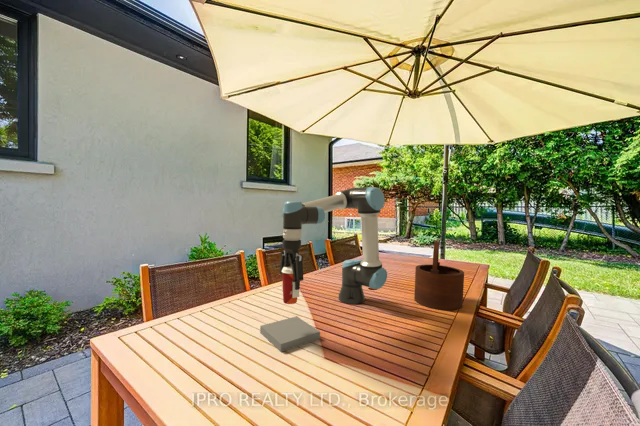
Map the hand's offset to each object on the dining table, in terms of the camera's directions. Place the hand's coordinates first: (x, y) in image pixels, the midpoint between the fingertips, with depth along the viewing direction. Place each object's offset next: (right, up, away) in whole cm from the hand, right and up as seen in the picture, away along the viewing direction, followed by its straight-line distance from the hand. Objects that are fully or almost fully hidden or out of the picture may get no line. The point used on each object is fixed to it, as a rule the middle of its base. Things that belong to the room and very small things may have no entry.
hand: (290, 294), depth 113 cm
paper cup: (0, -3, 0) cm, 3 cm away
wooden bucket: (+80, -18, +46) cm, 95 cm away
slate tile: (0, -17, +1) cm, 18 cm away
